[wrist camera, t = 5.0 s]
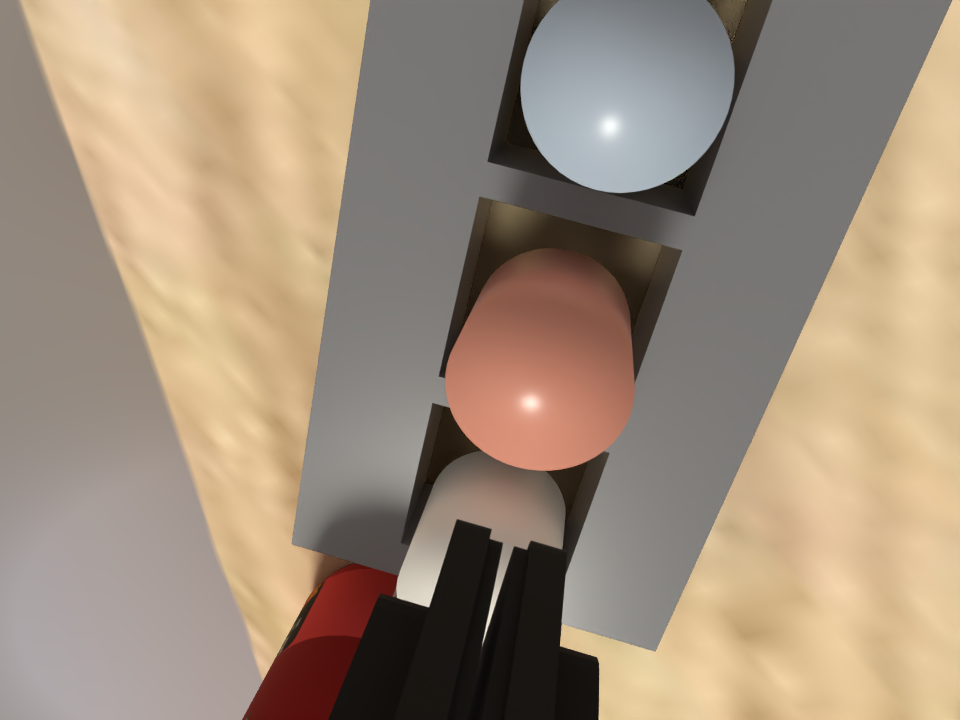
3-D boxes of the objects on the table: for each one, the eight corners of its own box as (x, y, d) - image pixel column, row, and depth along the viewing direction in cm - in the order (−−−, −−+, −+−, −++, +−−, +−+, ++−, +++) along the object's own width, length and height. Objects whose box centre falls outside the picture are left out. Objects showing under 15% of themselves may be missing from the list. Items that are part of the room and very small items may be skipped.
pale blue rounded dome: (735, 5, 19) (768, -1, 15) (676, 179, 21) (691, 214, 17) (563, -38, 19) (550, -55, 15) (520, 138, 21) (499, 164, 17)
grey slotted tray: (911, -36, 21) (974, -49, 17) (650, 578, 31) (655, 651, 27) (433, -152, 22) (397, -188, 18) (328, 484, 31) (291, 544, 28)
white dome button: (582, 472, 24) (576, 563, 20) (545, 579, 26) (533, 681, 22) (445, 433, 24) (412, 515, 20) (419, 542, 26) (384, 636, 22)
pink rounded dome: (651, 271, 21) (661, 330, 17) (604, 409, 23) (602, 491, 19) (495, 229, 21) (467, 277, 17) (461, 369, 23) (428, 441, 19)
